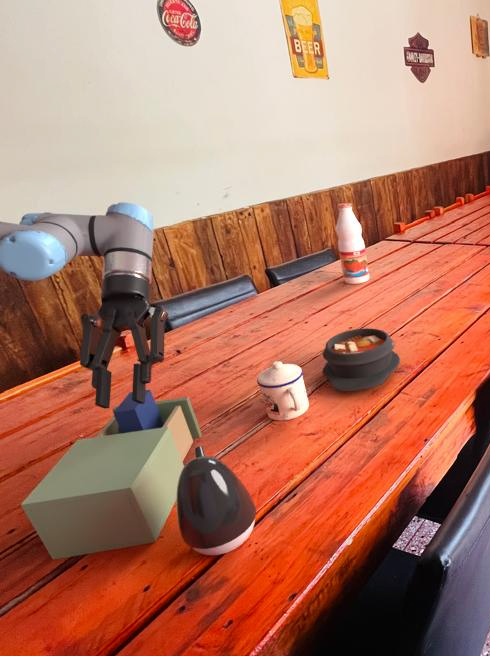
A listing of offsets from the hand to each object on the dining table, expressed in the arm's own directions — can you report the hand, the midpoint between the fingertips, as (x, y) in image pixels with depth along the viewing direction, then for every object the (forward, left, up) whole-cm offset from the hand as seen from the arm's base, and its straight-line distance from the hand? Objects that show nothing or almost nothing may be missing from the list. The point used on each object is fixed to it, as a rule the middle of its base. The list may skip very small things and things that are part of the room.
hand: (120, 403), depth 87 cm
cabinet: (0, -10, -15) cm, 18 cm away
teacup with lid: (+23, +15, -15) cm, 31 cm away
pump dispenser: (+18, -20, -15) cm, 31 cm away
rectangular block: (0, +4, -13) cm, 13 cm away
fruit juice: (+35, +105, -15) cm, 111 cm away
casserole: (+38, +30, -15) cm, 50 cm away
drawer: (0, +4, -14) cm, 15 cm away
